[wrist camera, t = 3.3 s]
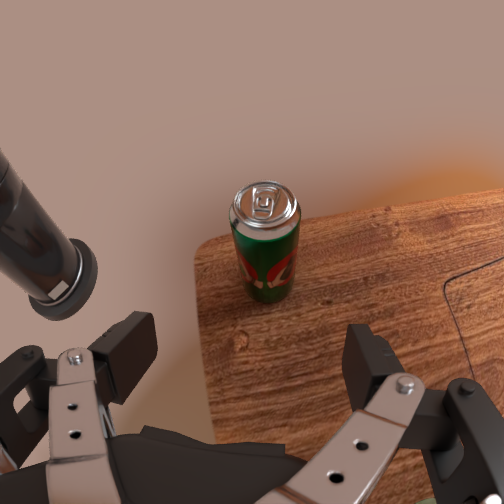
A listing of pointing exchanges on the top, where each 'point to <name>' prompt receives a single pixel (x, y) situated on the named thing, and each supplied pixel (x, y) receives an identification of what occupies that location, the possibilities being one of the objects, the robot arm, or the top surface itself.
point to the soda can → (266, 238)
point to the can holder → (427, 501)
